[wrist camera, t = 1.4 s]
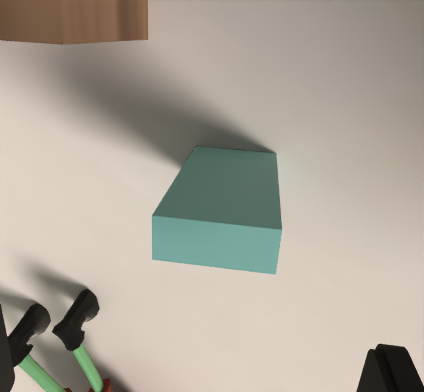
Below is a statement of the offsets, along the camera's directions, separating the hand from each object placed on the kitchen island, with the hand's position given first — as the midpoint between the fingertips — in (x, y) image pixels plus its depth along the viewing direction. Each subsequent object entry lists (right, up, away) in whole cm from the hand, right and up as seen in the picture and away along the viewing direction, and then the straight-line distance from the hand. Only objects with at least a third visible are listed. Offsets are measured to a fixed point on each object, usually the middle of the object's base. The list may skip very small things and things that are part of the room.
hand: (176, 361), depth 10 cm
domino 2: (+2, +6, +14) cm, 16 cm away
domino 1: (-5, +14, +12) cm, 19 cm away
